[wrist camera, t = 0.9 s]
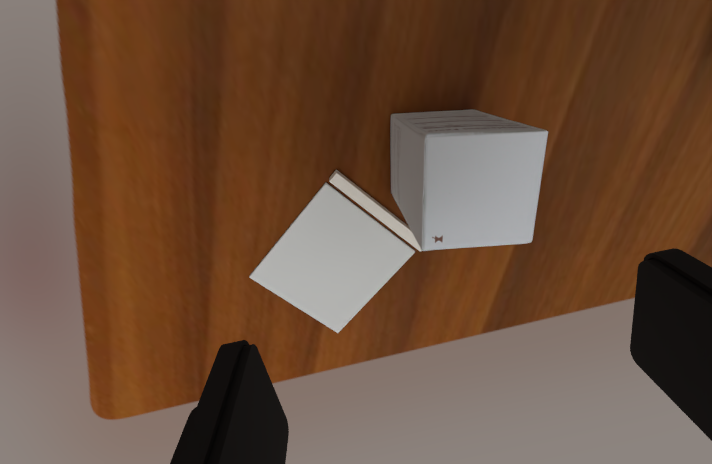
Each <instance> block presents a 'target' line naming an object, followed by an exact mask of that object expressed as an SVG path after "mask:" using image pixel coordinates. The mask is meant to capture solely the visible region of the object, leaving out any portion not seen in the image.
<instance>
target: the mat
mask: <svg viewBox="0 0 712 464" xmlns="http://www.w3.org/2000/svg"><path fill="white" fill-rule="evenodd" d="M414 253H415V250H414V249H412V248H411V247H410V246H408V245H407V244H406V243H405V242H403V241H402V240H401V239H399V238H398V237H397V236H395V235H394V234H393V233H391V232H390V231H389V230H388V229H386V228H385V227H384V226H382V225H381V224H380V223H378V222H377V221H376V220H375V219H373V218H372V217H371V216H369V215H368V214H367V213H365V212H364V211H363V210H362V209H360V208H359V207H358V206H356V205H355V204H354V203H352V202H351V201H350V200H348V199H347V198H346V197H345V196H343V195H342V194H341V193H339V192H338V191H337V190H335V189H334V188H333V187H332V186H330V185H329V184H328V183H325V184H324V185H323V186H322V188H321V189H320V190H319V191H318V192H317V194H316V195H315V196H314V197H313V199H312V200H311V201H310V202H309V203H308V205H307V206H306V207H305V208H304V210H303V211H302V212H301V213H300V214H299V216H298V217H297V218H296V219H295V221H294V222H293V223H292V224H291V226H290V227H289V228H288V229H287V230H286V232H285V233H284V234H283V235H282V237H281V238H280V239H279V240H278V241H277V243H276V244H275V245H274V246H273V248H272V249H271V250H270V251H269V252H268V254H267V255H266V256H265V257H264V259H263V260H262V261H261V262H260V264H259V265H258V266H257V267H256V268H255V270H254V271H253V272H252V273H251V275H250V276H249V277H250V278H251V279H253V280H254V281H256V282H258V283H259V284H261V285H262V286H264V287H265V288H267V289H269V290H270V291H272V292H273V293H275V294H277V295H278V296H280V297H281V298H283V299H285V300H286V301H288V302H289V303H291V304H292V305H294V306H296V307H297V308H299V309H300V310H302V311H304V312H305V313H307V314H308V315H310V316H312V317H313V318H315V319H316V320H318V321H319V322H321V323H323V324H324V325H326V326H327V327H329V328H331V329H332V330H334V331H335V332H337V333H339V332H340V330H341V329H342V328H343V327H344V326H345V325H346V324H347V323H348V322H349V321H350V320H351V319H352V318H353V317H354V316H355V315H356V314H357V313H358V312H359V311H360V309H361V308H362V307H363V306H364V305H365V304H366V303H367V302H368V301H369V300H370V299H371V298H372V297H373V296H374V295H375V294H376V293H377V292H378V291H379V290H380V288H381V287H382V286H383V285H384V284H385V283H386V282H387V281H388V280H389V279H390V278H391V277H392V276H393V275H394V274H395V273H396V272H397V271H398V270H399V269H400V267H401V266H402V265H403V264H404V263H405V262H406V261H407V260H408V259H409V258H410V257H411V256H412V255H413V254H414Z"/></svg>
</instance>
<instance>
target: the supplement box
mask: <svg viewBox="0 0 712 464" xmlns="http://www.w3.org/2000/svg"><path fill="white" fill-rule="evenodd" d="M547 137H548V131H547V130H543V129H540V128H536V127H533V126H529V125H526V124H522V123H519V122H515V121H511V120H507V119H504V118H501V117H497V116H494V115H491V114H487V113H484V112H481V111H478V110H474V109H470V110H455V111H435V112H416V113H398V114H391V127H390V152H391V194H392V195H393V197H394V199H395V201H396V203H397V205H398V206H399V208H400V210H401V212H402V214H403V216H404V218H405V220H406V222H407V223H408V225H409V227H410V229H411V231H412V233H413V235H414V237H415V239H416V241H417V242H418V244H419V246H420V248H421V250H422V251H429V250H440V249H452V248H467V247H482V246H497V245H511V244H524V243H531V242H532V239H533V231H534V225H535V218H536V211H537V204H538V198H539V191H540V184H541V177H542V170H543V163H544V157H545V150H546V143H547Z"/></svg>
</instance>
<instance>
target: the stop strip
mask: <svg viewBox="0 0 712 464" xmlns="http://www.w3.org/2000/svg"><path fill="white" fill-rule="evenodd" d="M329 182H331V183H332V184H333V185H334V186H336V187H337V188H338V189H340V190H341V191H342V192H344V193H345V194H346V195H347V196H349V197H350V198H351V199H353V200H354V201H355V202H357V203H358V204H359V205H360V206H362V207H363V208H364V209H366V210H367V211H368V212H370V213H371V214H372V215H373V216H375V217H376V218H377V219H379V220H380V221H381V222H383V223H384V224H385V225H386V226H388V227H389V228H390V229H392V230H393V231H394V232H396V233H397V234H398V235H399V236H401V237H402V238H403V239H405V240H406V241H407V242H408V243H410V244H411V245H412V246H414V247H415V248H416V249H418V250H419V251H420V252H421V251H422V250H421V248H420V246H419V244H418V242H417V241H416V239H415V237H414V235H413V233H412V231H411V229H410V227H409V226H408V225H406V224H405V223H404V222H403V221H401V220H400V219H399V218H397V217H396V216H395V215H394V214H392V213H391V212H390V211H389V210H387V209H386V208H385V207H383V206H382V205H381V204H380V203H378V202H377V201H376V200H375V199H373V198H372V197H371V196H370V195H368V194H367V193H366V192H364V191H363V190H362V189H361V188H359V187H358V186H357V185H356V184H354V183H353V182H352V181H350V180H349V179H348V178H347V177H345V176H344V175H343V174H342V173H340V172H339V171H338V170H335V172H334V173H333V174H332V175H331V176H330V178H329Z"/></svg>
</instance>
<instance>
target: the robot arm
mask: <svg viewBox="0 0 712 464" xmlns="http://www.w3.org/2000/svg"><path fill="white" fill-rule="evenodd" d="M630 351H631V355H632V357H633V359H634V361H635V362H636V364H637V365H638V366H639V367H640V368H641V369H642V370H643V371H644V372H645V373H646V374H647V375H648V376H649V377H650V378H651V379H652V380H653V381H654V382H655V383H656V384H657V385H658V386H659V387H660V388H661V389H662V390H663V391H664V392H665V393H666V394H667V395H668V397H670V398H671V400H672V401H673V402H674V403H675V404H676V405H677V406H679V408H680V409H681V410H682V411H683V412H684V413H685V414H686V415H687V416H688V417H689V418H690V419H691V420H692V421H693V422H694V423H695V424H696V425H697V426H698V427H699V428H700V429H701V430H702V431H703V432H704V433H705V434H706V435H707V436H708V437H709V438H710V440H712V267H710V266H708V265H706V264H705V263H703V262H701V261H699V260H698V259H696V258H694V257H692V256H690V255H689V254H687V253H685V252H683V251H682V250H679V249H669V250H664V251H659V252H655V253H650V254H648V255H646V256H645V258H644V261H643V262H641V263H640V264H639V266H638V274H637V284H636V294H635V304H634V315H633V324H632V334H631V344H630ZM288 432H289V431H288V423H287V419H286V416H285V414H284V411H283V409H282V406H281V404H280V402H279V399H278V397H277V394H276V392H275V390H274V387H273V385H272V382H271V380H270V378H269V375H268V373H267V370H266V368H265V366H264V363H263V361H262V358H261V356H260V354H259V351H258V349H257V347H256V346H255V345H254V344H252V345H249V343H248V342H247V341H246V340H242V341H237V342H233V343H228V344H223V345H222V346H221V347H220V348H219V351H218V353H217V356H216V359H215V361H214V364H213V367H212V369H211V372H210V374H209V377H208V380H207V382H206V385H205V387H204V390H203V393H202V395H201V398H200V401H199V403H198V406H197V407H196V408H195V409H193V410H192V412H191V413H190V415H189V417H188V420H187V422H186V425H185V427H184V430H183V432H182V435H181V437H180V440H179V443H178V445H177V447H176V450H175V452H174V455H173V458H172V460H171V463H170V464H285V460H286V451H287V443H288Z"/></svg>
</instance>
